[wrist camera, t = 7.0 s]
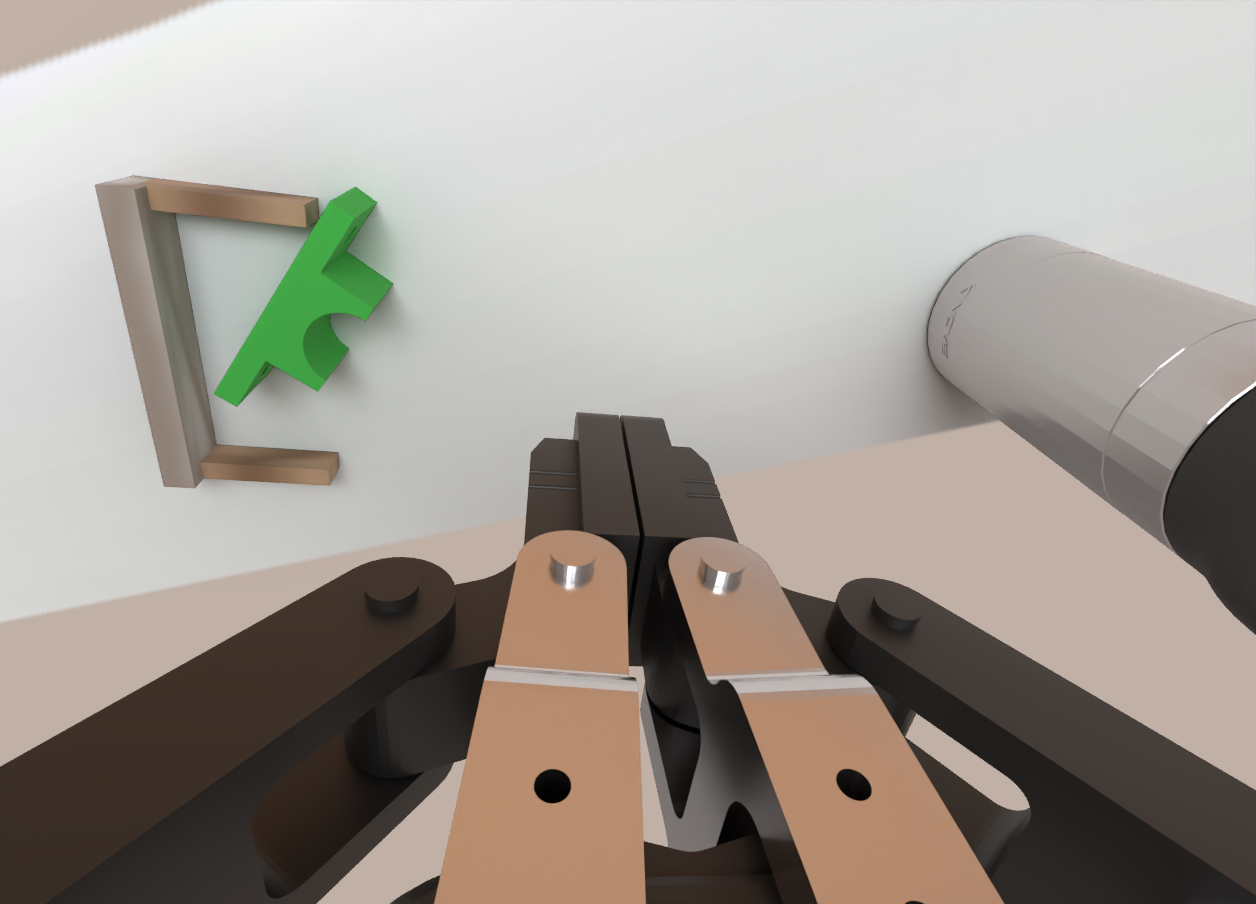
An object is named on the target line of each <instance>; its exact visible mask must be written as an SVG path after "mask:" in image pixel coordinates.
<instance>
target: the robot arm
mask: <svg viewBox="0 0 1256 904" xmlns="http://www.w3.org/2000/svg"><path fill="white" fill-rule="evenodd" d="M928 346H929V352H930V356H931V359H932V361H933V363H934V365H935V367H936V369H937V370H938V371H939V372H940V373H941V374H942V376H943V377H944V378H945V379H947V380H948V381H949V382H951V383H952V384H953V385H954V386H956V387H957V388H958V389H960V390H961V391H962V392H964V393H965V394H966V395H968V396H969V397H970V398H972V399H973V400H974V401H976V402H977V403H978V404H979V405H980V406H982V407H983V408H984V409H986V410H987V411H988V412H989V413H991V414H992V415H993V416H995V417H996V418H997V419H999V420H1000V421H1001V422H1003V423H1004V424H1005V425H1007V426H1008V427H1009V428H1010V429H1012V430H1013V431H1014V432H1016V433H1017V434H1019V435H1020V436H1021V437H1022V438H1024V439H1025V440H1026V441H1028V442H1029V443H1030V444H1032V445H1033V446H1034V447H1036V448H1037V449H1038V450H1039V451H1041V452H1042V453H1043V454H1045V455H1046V456H1047V457H1049V458H1050V459H1051V460H1053V461H1054V462H1055V463H1056V464H1058V465H1059V466H1061V467H1062V468H1063V469H1064V470H1066V471H1067V472H1068V473H1070V474H1071V475H1072V476H1074V477H1075V478H1076V479H1078V480H1079V481H1080V482H1081V483H1083V484H1084V485H1085V486H1087V487H1088V488H1089V489H1091V490H1092V491H1093V492H1095V493H1096V494H1097V495H1098V496H1100V497H1101V498H1102V499H1104V500H1105V501H1106V502H1108V503H1109V504H1110V505H1112V506H1113V507H1114V508H1116V509H1117V510H1118V511H1119V512H1121V513H1122V514H1124V515H1125V516H1127V517H1128V518H1129V519H1131V520H1132V521H1133V522H1135V523H1136V524H1137V525H1139V526H1140V527H1141V528H1142V529H1144V530H1145V531H1146V532H1148V533H1149V534H1151V535H1152V536H1153V537H1154V538H1156V539H1157V540H1158V541H1160V542H1161V543H1162V544H1163V545H1165V546H1166V547H1167V548H1169V549H1170V550H1171V551H1173V552H1174V553H1175V554H1177V555H1178V556H1179V557H1181V558H1182V559H1183V560H1184V561H1186V562H1187V563H1189V564H1190V565H1191V566H1192V567H1194V568H1195V569H1196V570H1197V571H1199V572H1200V573H1201V574H1202V575H1204V576H1205V578H1206V579H1207V581H1208V582H1209V584H1210V586H1211V588H1212V589H1213V591H1214V592H1215V594H1216V595H1217V597H1218V598H1219V599H1220V600H1221V602H1222V603H1223V604H1224V605H1225V607H1226V608H1227V609H1228V610H1229V611H1230V612H1231V613H1232V614H1233V615H1234V616H1235V617H1236V618H1237V619H1238V620H1240V622H1242V623H1243V624H1244V625H1245V626H1246V627H1247V628H1248V629H1250V630H1251V631H1252V632H1253V633H1254V634H1256V306H1253V305H1250V304H1247V303H1244V302H1241V301H1238V300H1235V299H1232V298H1229V297H1226V296H1223V295H1220V294H1216V293H1213V292H1210V291H1207V290H1204V289H1201V288H1198V287H1195V286H1192V285H1189V284H1186V283H1183V282H1180V281H1177V280H1174V279H1171V278H1167V277H1164V276H1161V275H1158V274H1155V273H1152V272H1149V271H1146V270H1143V269H1140V268H1137V267H1134V266H1131V265H1128V264H1125V263H1122V262H1118V261H1115V260H1112V259H1109V258H1106V257H1104V256H1101V255H1098V254H1095V253H1092V252H1089V251H1086V250H1083V249H1080V248H1077V247H1074V246H1071V245H1068V244H1065V243H1061V242H1058V241H1055V240H1052V239H1049V238H1044V237H1037V236H1024V237H1014V238H1011V239H1008V240H1005V241H1001V242H998V243H996V244H994V245H992V246H990V247H988V248H986V249H984V250H982V251H981V252H979V253H978V254H977V255H975V256H974V257H973V258H971V259H970V260H969V261H967V262H966V263H965V264H964V265H963V266H962V267H961V268H960V269H959V270H958V271H957V272H956V273H955V274H954V275H953V276H952V277H951V279H950V280H949V281H948V283H947V284H946V286H945V287H944V289H943V290H942V292H941V293H940V295H939V297H938V299H937V302H936V304H935V306H934V308H933V310H932V314H931V318H930V322H929V326H928ZM629 666H643V668H644V675H645V685H644V690H643V695H642V701H641V709H640V710H641V717H642V723H643V727H644V731H645V736H646V741H647V746H648V750H649V754H650V759H651V763H652V768H653V773H654V778H655V782H656V787H657V792H658V796H659V801H660V805H661V810H662V814H663V819H664V823H665V828H666V834H667V840H668V847H664V846H661V845H657V844H653V843H648V842H645V841H644V840H643V811H642V784H641V756H640V728H639V702H638V686H637V681H636V678H633V677H629ZM916 713H917V714H918V715H920V716H921V717H923V718H924V719H926V720H927V721H928V722H930V723H931V724H933V725H934V726H936V727H937V728H938V729H940V730H941V731H943V732H944V733H946V734H947V735H948V736H950V737H951V738H953V739H954V740H956V741H957V742H959V743H960V744H961V745H963V746H964V747H966V748H967V749H969V750H970V751H971V752H973V753H974V754H976V755H977V756H978V757H980V758H981V759H983V760H984V761H985V762H987V763H988V764H990V765H991V766H993V767H994V768H996V769H997V770H998V771H1000V772H1001V773H1003V774H1004V775H1005V776H1007V777H1008V778H1009V779H1011V780H1012V781H1013V782H1014V783H1015V784H1016V785H1017V786H1018V787H1019V788H1020V789H1021V791H1022V792H1023V793H1024V795H1025V796H1026V798H1027V800H1028V802H1029V805H1030V808H1028V809H1026V810H1023V811H1014V810H1010V809H1006V808H1004V807H1001V806H1000V805H997V804H996V803H994V802H993V801H992V800H990V799H989V798H987V797H986V796H985V795H983V794H982V793H981V792H979V791H978V790H977V789H975V788H974V787H972V786H971V785H970V784H968V783H967V782H966V781H964V780H963V779H962V778H960V777H959V776H957V775H956V774H955V773H953V772H952V771H951V770H949V769H948V768H947V767H945V766H944V765H942V764H941V763H940V762H938V761H937V760H936V759H934V758H933V757H931V756H930V755H929V754H927V753H926V752H925V751H923V750H922V749H921V748H919V747H918V746H916V745H915V744H914V743H912V742H911V741H910V740H908V739H907V738H906V737H905V736H906V734H907V732H908V730H909V727H910V725H911V723H912V721H913V719H914V717H915V715H916ZM464 759H466V763H465V767H464V772H463V776H462V781H461V785H460V790H459V794H458V799H457V803H456V808H455V812H454V817H453V821H452V826H451V830H450V835H449V839H448V844H447V848H446V853H445V858H444V862H443V867H442V871H441V875H440V876H437V877H435V878H432V879H430V880H428V881H426V882H424V883H422V884H421V885H419V886H417V887H415V888H413V889H412V890H410V891H408V892H407V893H405V894H403V895H401V896H400V897H398V898H397V899H396V900H394V901H393V902H392V903H390V904H1256V790H1254V789H1252V788H1251V787H1249V786H1247V785H1246V784H1244V783H1242V782H1241V781H1239V780H1237V779H1235V778H1234V777H1232V776H1230V775H1229V774H1227V773H1225V772H1223V771H1222V770H1220V769H1218V768H1217V767H1215V766H1213V765H1212V764H1210V763H1208V762H1206V761H1205V760H1203V759H1201V758H1199V757H1198V756H1196V755H1194V754H1193V753H1191V752H1189V751H1188V750H1186V749H1184V748H1182V747H1181V746H1179V745H1177V744H1176V743H1174V742H1172V741H1171V740H1169V739H1167V738H1165V737H1164V736H1162V735H1160V734H1158V733H1157V732H1155V731H1153V730H1152V729H1150V728H1148V727H1147V726H1145V725H1143V724H1142V723H1139V722H1138V721H1136V720H1135V719H1133V718H1131V717H1130V716H1128V715H1126V714H1124V713H1123V712H1121V711H1119V710H1118V709H1116V708H1114V707H1113V706H1111V705H1109V704H1107V703H1106V702H1104V701H1102V700H1101V699H1098V698H1097V697H1095V696H1094V695H1092V694H1090V693H1089V692H1087V691H1085V690H1083V689H1082V688H1080V687H1078V686H1077V685H1075V684H1073V683H1072V682H1070V681H1068V680H1066V679H1065V678H1063V677H1061V676H1060V675H1058V674H1056V673H1054V672H1053V671H1051V670H1049V669H1048V668H1046V667H1044V666H1042V665H1041V664H1039V663H1037V662H1035V661H1034V660H1032V659H1031V658H1029V657H1027V656H1025V655H1024V654H1022V653H1020V652H1019V651H1017V650H1015V649H1014V648H1012V647H1010V646H1008V645H1007V644H1005V643H1003V642H1002V641H1000V640H998V639H996V638H995V637H993V636H991V635H990V634H988V633H986V632H984V631H983V630H981V629H979V628H978V627H976V626H974V625H973V624H971V623H969V622H967V621H966V620H964V619H962V618H961V617H959V616H957V615H955V614H953V613H952V612H950V611H949V610H947V609H945V608H944V607H942V606H940V605H938V604H937V603H935V602H933V601H932V600H930V599H928V598H927V597H925V596H923V595H921V594H920V593H918V592H916V591H914V590H912V589H910V588H908V587H906V586H903V585H901V584H898V583H895V582H892V581H888V580H884V579H877V578H862V579H856V580H853V581H850V582H848V583H847V584H845V585H844V586H843V587H842V588H841V590H840V592H839V594H838V596H837V599H836V602H831V601H828V600H824V599H820V598H816V597H812V596H808V595H805V594H801V593H798V592H794V591H791V590H788V589H786V588H783V587H781V586H780V585H779V583H778V581H777V579H776V577H775V576H774V574H773V572H772V570H771V568H770V567H769V565H768V564H767V562H766V561H765V560H764V559H763V558H762V557H761V556H760V555H758V554H757V553H756V552H754V551H753V550H751V549H750V548H748V547H746V546H744V545H742V544H739V542H738V540H737V537H736V535H735V532H734V530H733V527H732V524H731V522H730V519H729V516H728V514H727V511H726V509H725V506H724V503H723V501H722V499H720V493H719V491H718V488H717V485H716V484H715V480H714V478H713V475H712V472H711V470H710V467H709V465H708V463H707V462H706V461H705V460H704V459H703V458H702V457H700V456H699V455H698V454H697V453H696V452H695V451H694V450H693V449H692V448H689V447H674V446H671V443H670V439H669V436H668V433H667V430H666V426H665V423H664V420H663V419H662V418H650V417H637V416H623V415H621V417H620V419H619V416H618V415H608V414H594V413H580V412H577V413H576V418H575V427H574V437H573V440H568V439H553V438H544V439H543V440H542V441H541V442H540V443H539V444H538V445H537V447H536V448H535V449H534V450H533V451H532V452H531V460H530V474H529V487H528V500H527V514H526V527H525V541H524V546H523V547H522V549H521V550H520V552H519V555H518V557H517V560H516V561H515V562H514V563H513V564H512V565H511V566H510V567H508V568H507V569H506V570H504V571H502V572H500V573H498V574H496V575H494V576H491V577H488V578H485V579H481V580H477V581H472V582H467V583H462V584H457V585H454V582H453V580H452V578H451V577H450V575H449V574H448V573H447V572H446V571H445V570H443V569H442V568H440V567H439V566H437V565H435V564H433V563H431V562H428V561H425V560H421V559H416V558H407V557H395V558H394V557H392V558H385V559H380V560H376V561H371V562H368V563H366V564H363V565H360V566H358V567H356V568H354V569H352V570H350V571H348V572H347V573H345V574H343V575H341V576H340V577H338V578H336V579H335V580H333V581H331V582H329V583H327V584H326V585H323V586H322V587H320V588H318V589H316V590H315V591H313V592H311V593H309V594H307V595H306V596H304V597H302V598H300V599H299V600H297V601H295V602H293V603H292V604H290V605H288V606H286V607H284V608H283V609H281V610H279V611H277V612H275V613H274V614H272V615H270V616H268V617H266V618H265V619H263V620H261V621H259V622H257V623H256V624H254V625H252V626H251V627H249V628H247V629H245V630H243V631H242V632H240V633H238V634H236V635H234V636H233V637H231V638H229V639H227V640H225V641H224V642H222V643H220V644H218V645H217V646H215V647H213V648H211V649H209V650H208V651H206V652H204V653H202V654H201V655H199V656H197V657H195V658H193V659H192V660H190V661H188V662H186V663H184V664H183V665H181V666H179V667H177V668H176V669H174V670H172V671H170V672H168V673H167V674H165V675H163V676H161V677H159V678H158V679H156V680H154V681H152V682H151V683H149V684H147V685H145V686H143V687H142V688H140V689H138V690H136V691H134V692H133V693H131V694H129V695H127V696H126V697H124V698H122V699H120V700H119V701H117V702H115V703H113V704H111V705H110V706H108V707H106V708H104V709H103V710H101V711H99V712H97V713H95V714H93V715H92V716H90V717H88V718H86V719H85V720H83V721H81V722H79V723H77V724H76V725H74V726H72V727H70V728H68V729H67V730H65V731H63V732H61V733H60V734H58V735H56V736H54V737H53V738H51V739H49V740H47V741H45V742H44V743H42V744H40V745H38V746H37V747H35V748H33V749H31V750H29V751H27V752H26V753H24V754H22V755H20V756H19V757H17V758H15V759H13V760H12V761H10V762H8V763H6V764H4V765H3V766H1V767H0V904H316V903H317V902H318V901H319V900H321V899H322V898H323V897H324V896H325V895H326V894H327V893H328V892H329V891H330V890H331V889H332V888H333V887H334V886H335V885H336V884H337V883H338V882H339V881H340V880H341V879H342V878H343V877H344V876H345V875H346V874H348V873H349V871H351V870H352V869H353V868H354V867H355V866H356V865H357V864H358V863H359V862H360V861H361V860H362V859H363V858H364V857H365V856H366V855H367V854H368V853H369V852H370V851H371V850H372V849H373V848H374V847H375V846H376V845H377V844H379V843H380V842H381V841H382V840H383V839H384V838H385V837H386V836H387V835H388V834H389V833H390V832H391V831H392V830H393V829H394V828H395V827H396V826H397V825H398V824H399V823H400V822H401V821H403V819H405V818H406V817H407V816H408V815H409V814H410V813H411V812H412V811H413V810H414V809H415V808H416V807H417V806H418V805H419V804H420V803H421V802H422V801H423V800H424V799H425V798H426V797H427V796H428V795H429V794H431V793H432V792H433V790H435V789H436V788H437V787H438V786H439V785H440V783H441V782H442V781H443V780H444V779H445V778H446V776H447V775H448V773H449V771H450V770H451V768H452V765H453V763H454V762H457V761H461V760H464Z"/></svg>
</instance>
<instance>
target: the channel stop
mask: <svg viewBox="0 0 1256 904" xmlns="http://www.w3.org/2000/svg"><path fill="white" fill-rule="evenodd" d="M95 188H96V193H97V197H98V201H99V206H100V210H101V214H102V219H103V223H104V228H105V232H106V236H107V241H108V245H109V249H110V254H111V258H112V262H113V267H114V271H115V275H116V280H117V284H118V289H119V293H120V297H121V302H122V306H123V310H124V315H125V319H126V323H127V328H128V332H129V336H130V341H131V345H132V350H133V354H134V358H135V363H136V367H137V371H138V376H139V380H140V384H141V389H142V393H143V397H144V402H145V406H146V411H147V415H148V419H149V424H150V428H151V432H152V437H153V441H154V445H155V450H156V454H157V458H158V463H159V467H160V471H161V476H162V480H163V485H164V487H182V488H196V486H197V485H198V484H199V483H200V482H201V480H202V479H203V478H206V479H224V480H241V481H259V482H277V483H295V484H312V485H330V484H331V482H332V480H333V478H334V476H335V474H336V472H337V471H338V469H339V458H338V452H324V451H308V450H293V449H277V448H261V447H246V446H230V445H216V441H215V435H214V430H213V424H212V418H211V413H210V407H209V402H208V396H207V390H206V385H205V379H204V374H203V368H202V363H201V357H200V351H199V346H198V340H197V335H196V329H195V324H194V318H193V312H192V307H191V301H190V296H189V290H188V284H187V279H186V273H185V268H184V262H183V257H182V251H181V245H180V240H179V234H178V229H177V223H176V218H175V213H182V214H191V215H200V216H208V217H217V218H226V219H235V220H243V221H252V222H261V223H270V224H279V225H287V226H296V227H305V228H307V227H308V226H310V225H311V224H313V223H315V222H316V221H318V220H319V210H318V198H314V197H306V196H298V195H290V194H281V193H273V192H265V191H257V190H248V189H240V188H232V187H223V186H215V185H207V184H199V183H190V182H182V181H174V180H166V179H157V178H149V177H141V176H129V177H125V178H121V179H117V180H113V181H109V182H104V183H100V184H96V185H95Z"/></svg>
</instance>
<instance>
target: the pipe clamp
mask: <svg viewBox="0 0 1256 904" xmlns="http://www.w3.org/2000/svg"><path fill="white" fill-rule="evenodd" d="M376 203H377V202H376V201H375V200H373V199H372V198H370V197H369V196H368V195H366V194H365V193H364V192H362V191H361V190H359V189H358V188H357V187H355V188H353V189H351V190H349V191H347V192H346V193H344V194H342V195H340V196H338V197H337V198H335V199H333V200H331V201H330V202H329V204H328V205H327V207H326V209H325V210H324V212H323V214H322V215H321V217H320V219H319V220H318V222H317V224H316V225H315V227H314V228H313V230H312V232H311V233H310V235H309V237H308V238H307V240H306V242H305V243H304V245H303V247H302V248H301V250H300V252H299V253H298V255H297V257H296V258H295V260H294V262H293V263H292V265H291V267H290V268H289V270H288V272H287V273H286V275H285V277H284V278H283V280H282V281H281V283H280V285H279V286H278V288H277V290H276V291H275V293H274V295H273V296H272V298H271V300H270V301H269V303H268V305H267V306H266V308H265V310H264V311H263V313H262V315H261V316H260V318H259V320H258V321H257V323H256V325H255V326H254V328H253V329H252V331H251V333H250V334H249V336H248V338H247V339H246V341H245V343H244V344H243V346H242V348H241V349H240V351H239V353H238V354H237V356H236V358H235V359H234V361H233V363H232V364H231V366H230V368H229V369H228V371H227V373H226V374H225V376H224V377H223V379H222V381H221V382H220V384H219V386H218V387H217V389H216V391H215V392H214V394H215V395H217V396H218V397H220V398H222V399H224V400H226V401H227V402H229V403H231V404H233V405H235V406H236V407H237V406H238V405H239V404H240V403H241V402H242V401H243V400H244V399H245V398H246V397H247V395H248V394H249V393H250V392H251V391H252V390H253V389H254V388H255V387H256V386H257V385H258V384H259V383H260V382H261V381H262V380H263V379H264V378H265V377H266V376H267V374H268V373H269V372H270V371H271V369H272V368H273V366H275V367H277V368H279V369H280V370H282V371H284V372H286V373H287V374H289V375H291V376H292V377H294V378H296V379H297V380H299V381H301V382H302V383H304V384H306V385H308V386H309V387H311V388H313V389H314V390H316V391H319V389H320V388H321V387H322V385H323V384H324V383H325V381H326V380H327V379H328V377H329V376H330V375H331V373H332V372H333V371H334V369H335V368H336V366H337V365H338V364H339V362H340V361H341V360H342V358H343V357H344V355H345V354H346V352H347V351H348V349H349V348H348V347H346V346H345V345H344V344H343V343H342V342H341V341H340V340H339V339H338V338H337V337H336V335H335V333H334V332H333V329H332V327H331V324H330V313H347V314H351V315H354V316H357V317H359V318H361V319H363V320H365V321H366V319H367V318H368V317H369V315H370V314H371V313H372V311H373V310H374V309H375V308H376V306H377V305H378V304H379V302H380V301H381V300H382V298H383V297H384V296H385V294H386V293H387V291H388V290H389V288H390V287H391V285H392V284H393V283H392V282H390V281H389V280H387V279H386V278H384V277H383V276H382V275H380V274H379V273H377V272H376V271H374V270H373V269H371V268H370V267H368V266H367V265H366V264H364V263H363V262H361V261H360V260H358V259H357V258H355V257H354V256H352V255H351V254H349V253H348V252H347V251H346V250H347V249H348V247H349V246H350V244H351V243H352V241H353V239H354V238H355V236H356V235H357V233H358V231H359V230H360V228H361V227H362V225H363V224H364V222H365V220H366V219H367V217H368V216H369V214H370V212H371V211H372V209H373V208H374V206H375V205H376Z"/></svg>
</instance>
